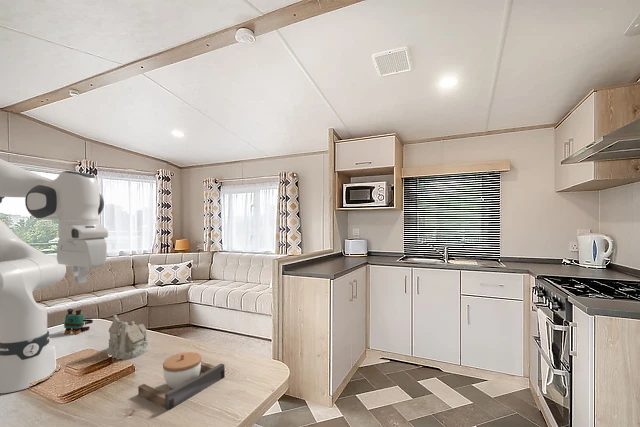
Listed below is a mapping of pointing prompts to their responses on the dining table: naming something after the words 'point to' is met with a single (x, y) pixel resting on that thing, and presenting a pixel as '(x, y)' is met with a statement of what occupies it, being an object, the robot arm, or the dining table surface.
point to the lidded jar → (181, 368)
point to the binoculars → (75, 322)
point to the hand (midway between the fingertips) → (80, 282)
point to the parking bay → (184, 387)
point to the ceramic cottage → (127, 340)
